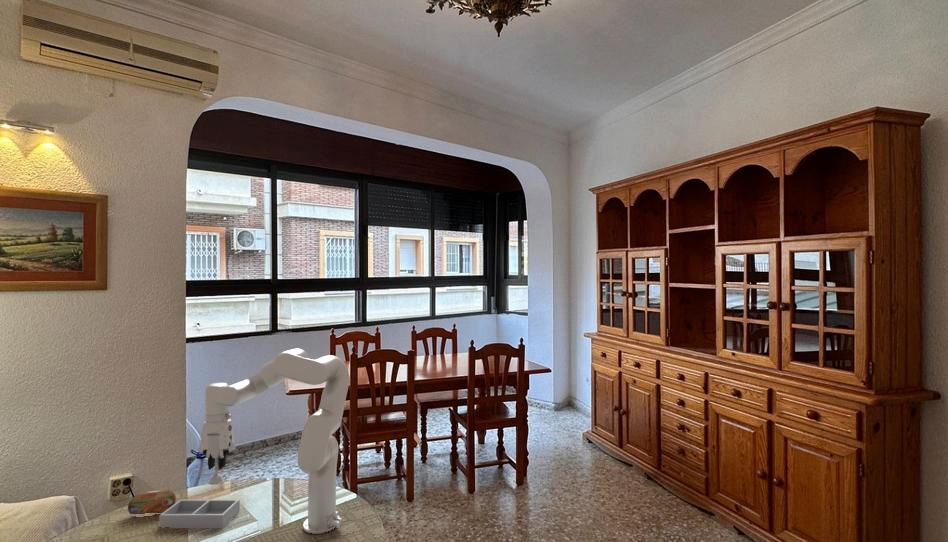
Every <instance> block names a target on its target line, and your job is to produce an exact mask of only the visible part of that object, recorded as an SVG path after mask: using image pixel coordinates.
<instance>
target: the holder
mask: <svg viewBox="0 0 948 542" xmlns="http://www.w3.org/2000/svg"><path fill="white" fill-rule="evenodd" d="M240 501H241V500H240V499H179V500H178V501H176V502H175V504H174V505H173V506H171V507H170V508H169V509H167V510H166V511H165V512H163V513H162V514H161V515H158V516H159V522H158V526H159V527H174V528H173V529H223V528H224V527H225V526H226V525H228V524H229V523H230V522H231V520H233V519H234V517H236V516H237V515H238V514H239V513H240V511H241V510H240V507H241V504H240V503H241V502H240ZM159 527H158V528H159Z"/></svg>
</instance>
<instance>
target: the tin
mask: <svg viewBox="0 0 948 542" xmlns="http://www.w3.org/2000/svg"><path fill="white" fill-rule="evenodd" d="M175 503H177V497H176V494H175V492H173V491H172V490H170V489H160V490H152V491H142V492H139V493H138V494H136V495H134V496H133V497H132V498H131V499H130V500H129V502H128V504H127V511H128V513H129V514H130V515H131V514H145V513H163V512H165V511H166V510H167V509H169V508H170V507H171V506H173V505H174V504H175Z"/></svg>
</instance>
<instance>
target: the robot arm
mask: <svg viewBox="0 0 948 542" xmlns="http://www.w3.org/2000/svg"><path fill="white" fill-rule="evenodd" d="M309 356H310V355H309V354H308V352H307V351H305V350H304V349H302V348H299V347H297V348H292V349H288V350H286V351H281V352H280V353H278V354H277V355H276V356H275V358H274V359H272V360H270V361H269V362H267V363H265V364H263V365H262V366H261V367H260V371H258V372H257V373H255V374H253V375H251V376H249V377H248V378H246V379H244V380H242V381H237V382H235V383H233V384H230V385H229V384H228V383H226V382H213V383H210V384H208V385H206V388H205V408H204V409H205V413H204V414H205V418H204V419H205V421H204V422H203V423H202V427H201V434H200V435H201V436H200V445H199V446H198V448H197V450H198V451H199V452H201V453H203V455H205V458H206V459H207V466H208V470H212V469H214V468H215V464H214V463H215V458H212V456H211V454H210V452H209V450H208V436H207V435H210V436H214V435H220V434H221V435H220V436H219V437H218V440H219V449H220V457H219V458H218V470H222V469H223V468H224V467H225V466H226V463H227V461H226V459H227V458H226V457H227V455H229V453H231V452H233V451H234V450H236V446H235V444H234V443H235V440H234V439H235V438H234V437H235V436H234V428H233V427H234V426H233V421H232V418H233V414H232V413H230V411H229V410H230V408H229V407H235V406H237V405H240V404H242V403H244V402H247V401H248V400H251V399H254V398H255V397H257V396H258V395H260V394H262V393H264V392H265V391H267V390H269V389H270V388H273V387H275V386H276V385H278V384H280V383H282V382H284V381H286V380H287V379H288V380H291V381H295V382H299V383H303V384H307V385H310V386H318V385H321V384H324V383H325V386H324V388H323V390H322V394H321V399H320V403H319V406H318V409H317V411H316V412H314V413H313V414H311V415H310V416H309V417H308V418H307V419H306V421H305V423H304V425H303V429H302V432H301V438H300V441H299V442H300V443H299V447H298V451H297V457H296V458H297V459H296V460H297V465H298V468H299V469H300V470H301V471H302V472H303V473H305V474H308V477H307V479H308V480H307V481H308V482H307V486H308V487H307V489H308V490H307V518H306V520H304V522H303V523H302V529H303V530H304V532H306V533H307V534H311V533H312V534H314V535H319V534H325V532H326V533H329V532H331V530H332V529H333V530H335V529H336V528H337V529H338V528H340V527H341V524H342V523H343V518H342V517H340V516H339V511H337V507H336V506H337V467H338V466H337V464H338V457H339V444H338V441H337V438H336V437H335V436H334V435H333V434H334V433H335V432H336V431H337V430H338V429H339V428H340V426H341V424H342V419H343V415H344V409H345V406H346V399H347V394H348V389H349V386H350V385H349V384H350V372H349V369H348V366H347V365H346V363H345V362H344V361H343V360H342V359H341V358H340V357H338V356H336V355H332V354H331V355H330V354H329V355H324V356H321V357H318V358H316V359H311V358H310V357H309ZM335 527H336V528H335ZM334 528H335V529H334ZM333 530H332V531H333ZM328 531H329V532H328Z"/></svg>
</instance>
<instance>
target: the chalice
mask: <svg viewBox="0 0 948 542" xmlns="http://www.w3.org/2000/svg"><path fill="white" fill-rule="evenodd" d="M220 435H221V434H220ZM220 435H214V436H210V435H207V436H208V450H209V452H210V454H211V456H212V458H215V463H214V464H215V466H214V467H213V470H214V474H212V475H211V477H210V478H209V480H208V482H207V483H208V485H210V486H215V485H219V484H221V483H223V482H224V481H225V479H224V477H223V475H222V474H220V473H219V469H218V460H219V458H220V449H219V440H218V437H219V436H220Z"/></svg>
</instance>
